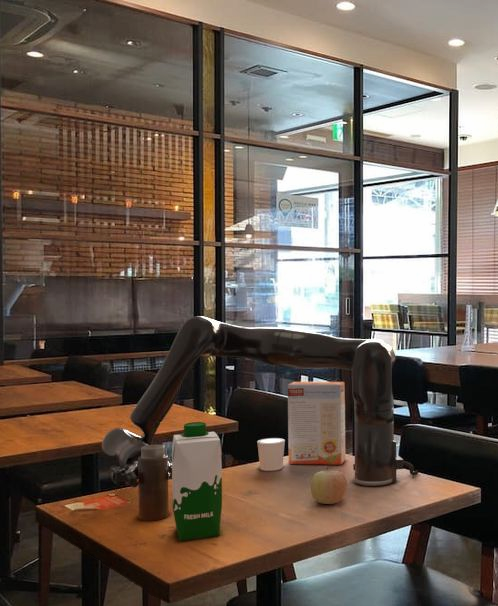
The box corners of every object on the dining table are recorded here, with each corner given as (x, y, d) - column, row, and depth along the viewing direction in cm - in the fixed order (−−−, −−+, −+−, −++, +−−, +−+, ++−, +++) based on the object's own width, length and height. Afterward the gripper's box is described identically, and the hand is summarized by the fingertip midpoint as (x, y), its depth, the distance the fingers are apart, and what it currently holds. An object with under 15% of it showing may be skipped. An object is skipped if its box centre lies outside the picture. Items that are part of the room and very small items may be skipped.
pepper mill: (169, 510, 144) (168, 442, 144) (167, 519, 139) (167, 449, 139) (140, 513, 143) (139, 444, 142) (137, 522, 137) (136, 451, 137)
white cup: (261, 472, 173) (261, 444, 173) (254, 466, 180) (254, 439, 179) (288, 469, 177) (288, 441, 176) (280, 463, 183) (280, 436, 182)
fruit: (317, 510, 144) (316, 471, 144) (306, 500, 151) (306, 463, 151) (352, 505, 147) (351, 467, 147) (340, 495, 154) (340, 459, 154)
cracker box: (346, 459, 186) (345, 381, 185) (341, 465, 180) (340, 384, 179) (294, 458, 187) (293, 380, 187) (287, 464, 181) (287, 383, 181)
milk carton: (218, 521, 137) (217, 420, 137) (225, 537, 129) (224, 428, 129) (170, 528, 134) (169, 423, 133) (174, 544, 126) (173, 432, 125)
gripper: (103, 448, 149) (116, 465, 135) (173, 440, 156) (192, 455, 142) (104, 483, 149) (117, 504, 135) (173, 473, 157) (193, 492, 143)
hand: (155, 479), depth 139 cm, fingers open, 7 cm apart
